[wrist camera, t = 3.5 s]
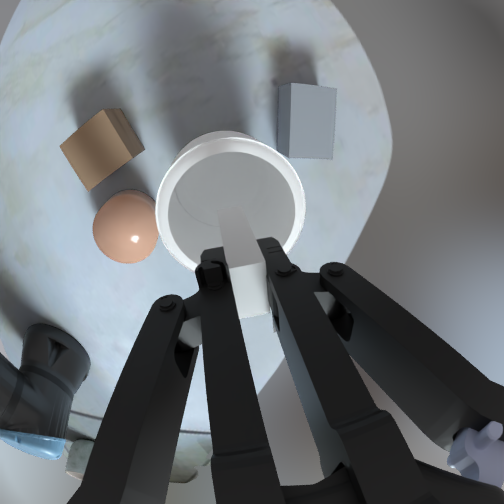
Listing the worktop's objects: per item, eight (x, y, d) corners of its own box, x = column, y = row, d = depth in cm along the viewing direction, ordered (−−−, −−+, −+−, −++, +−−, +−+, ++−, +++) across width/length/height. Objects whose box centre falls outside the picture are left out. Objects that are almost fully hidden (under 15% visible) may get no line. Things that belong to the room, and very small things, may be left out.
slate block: (276, 150, 31) (288, 158, 27) (278, 86, 27) (291, 82, 23) (315, 151, 32) (332, 159, 28) (318, 90, 28) (336, 88, 24)
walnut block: (106, 177, 29) (88, 191, 24) (81, 138, 26) (59, 146, 20) (145, 149, 28) (132, 158, 23) (120, 108, 25) (102, 109, 20)
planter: (64, 429, 58) (59, 467, 45) (110, 441, 63) (108, 480, 50) (76, 445, 65) (72, 478, 52) (116, 455, 70) (115, 489, 57)
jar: (160, 148, 28) (126, 181, 16) (244, 112, 28) (279, 113, 15) (198, 224, 34) (198, 301, 21) (274, 192, 33) (322, 250, 21)
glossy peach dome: (113, 252, 34) (106, 268, 30) (95, 197, 30) (83, 209, 26) (168, 241, 34) (165, 256, 31) (153, 182, 30) (147, 192, 27)
